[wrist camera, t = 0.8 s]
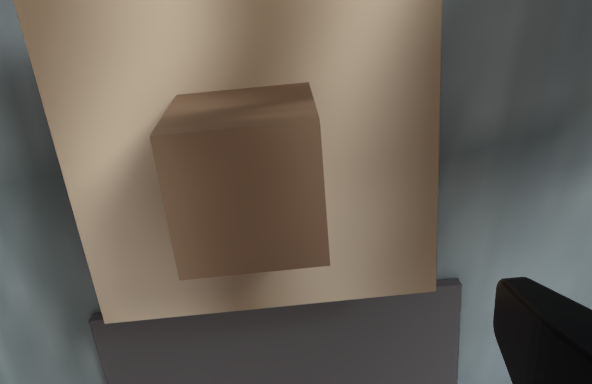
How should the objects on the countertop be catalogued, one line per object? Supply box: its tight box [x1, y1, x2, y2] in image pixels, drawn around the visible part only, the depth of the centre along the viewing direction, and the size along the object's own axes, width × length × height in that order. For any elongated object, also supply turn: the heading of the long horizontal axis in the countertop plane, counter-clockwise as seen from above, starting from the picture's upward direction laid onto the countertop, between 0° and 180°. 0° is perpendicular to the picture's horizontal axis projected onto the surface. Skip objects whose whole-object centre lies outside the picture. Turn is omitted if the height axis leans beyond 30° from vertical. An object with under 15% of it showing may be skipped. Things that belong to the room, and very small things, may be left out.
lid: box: [13, 0, 442, 324], centre depth 16 cm, size 12×12×5 cm
